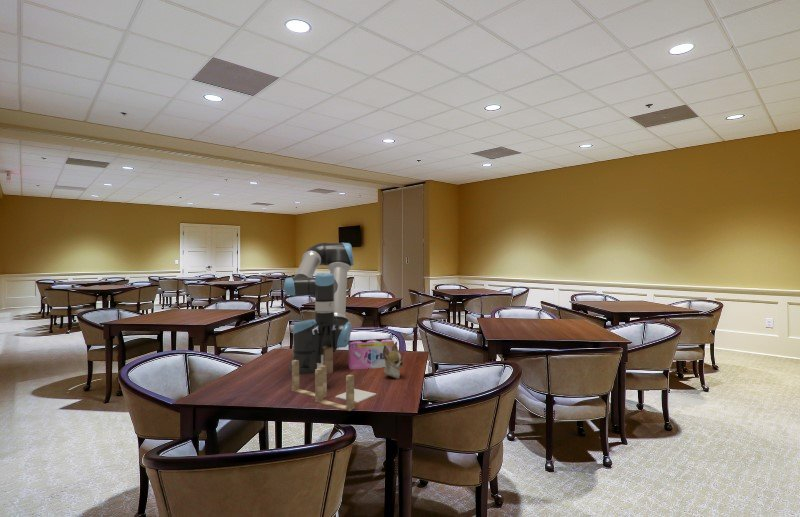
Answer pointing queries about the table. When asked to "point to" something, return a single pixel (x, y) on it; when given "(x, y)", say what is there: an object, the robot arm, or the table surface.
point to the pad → (357, 395)
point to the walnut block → (328, 358)
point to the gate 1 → (296, 379)
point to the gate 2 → (319, 399)
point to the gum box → (368, 353)
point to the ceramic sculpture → (392, 361)
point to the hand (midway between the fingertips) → (324, 369)
